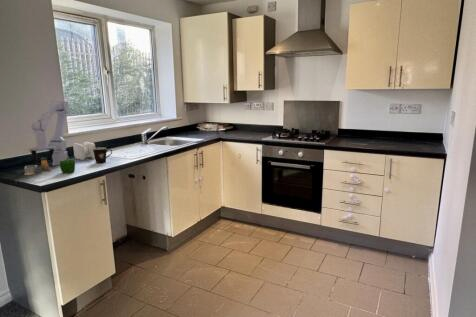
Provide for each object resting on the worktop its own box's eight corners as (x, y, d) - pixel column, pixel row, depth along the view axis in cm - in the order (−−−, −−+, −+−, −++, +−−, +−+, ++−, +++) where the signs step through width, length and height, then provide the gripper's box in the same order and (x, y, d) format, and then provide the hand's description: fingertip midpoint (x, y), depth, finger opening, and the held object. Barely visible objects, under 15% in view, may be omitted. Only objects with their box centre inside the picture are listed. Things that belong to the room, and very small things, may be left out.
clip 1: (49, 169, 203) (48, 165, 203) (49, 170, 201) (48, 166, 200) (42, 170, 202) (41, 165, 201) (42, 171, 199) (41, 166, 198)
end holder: (37, 169, 204) (37, 164, 203) (37, 171, 198) (36, 167, 198) (25, 170, 201) (25, 166, 200) (25, 173, 195) (24, 168, 195)
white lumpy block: (73, 158, 239) (72, 142, 236) (87, 155, 247) (86, 141, 244) (83, 161, 229) (81, 145, 227) (97, 158, 237) (95, 143, 235)
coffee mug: (92, 164, 220) (91, 149, 218) (96, 161, 229) (94, 147, 227) (110, 163, 222) (109, 149, 220) (113, 160, 231) (112, 147, 228)
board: (51, 167, 210) (51, 166, 210) (51, 173, 197) (51, 172, 197) (26, 170, 204) (26, 169, 204) (24, 176, 191) (24, 175, 191)
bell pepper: (69, 175, 192) (67, 159, 190) (57, 174, 194) (55, 158, 192) (79, 172, 200) (77, 156, 198) (68, 171, 202) (66, 155, 200)
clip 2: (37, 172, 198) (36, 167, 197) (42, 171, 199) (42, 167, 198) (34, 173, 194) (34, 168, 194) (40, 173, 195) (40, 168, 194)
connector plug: (48, 167, 208) (46, 157, 206) (48, 169, 205) (46, 158, 203) (42, 168, 206) (40, 157, 205) (42, 169, 203) (40, 158, 202)
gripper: (27, 142, 195) (30, 164, 198) (54, 140, 201) (57, 161, 204) (28, 140, 201) (31, 161, 204) (54, 138, 208) (57, 159, 210)
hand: (44, 161), depth 204 cm, fingers open, 7 cm apart
